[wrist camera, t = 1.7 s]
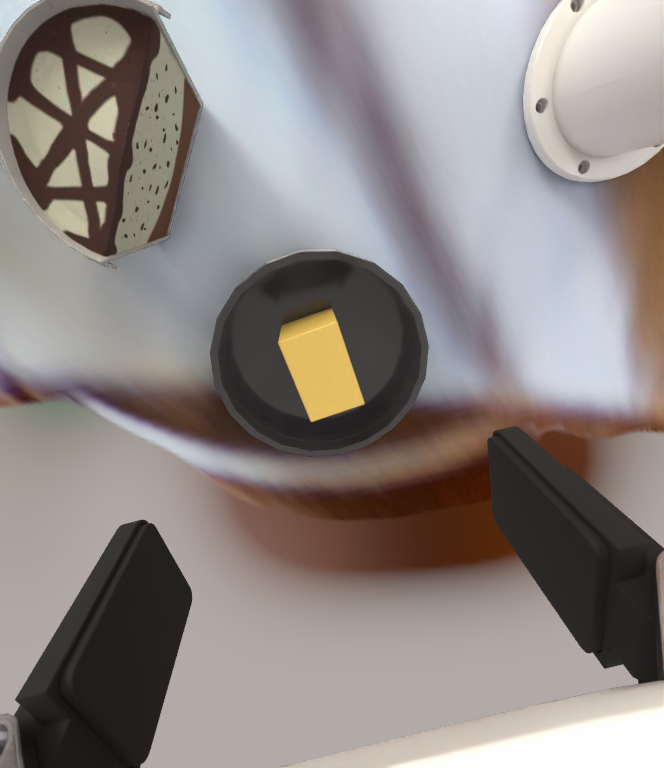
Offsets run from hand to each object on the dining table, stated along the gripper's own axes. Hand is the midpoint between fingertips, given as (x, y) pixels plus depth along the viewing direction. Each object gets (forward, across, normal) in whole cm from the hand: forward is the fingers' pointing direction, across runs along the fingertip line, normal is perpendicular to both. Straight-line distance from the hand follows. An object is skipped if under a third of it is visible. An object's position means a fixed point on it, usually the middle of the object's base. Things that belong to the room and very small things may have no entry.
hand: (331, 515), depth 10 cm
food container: (+23, +8, -14) cm, 29 cm away
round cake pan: (+23, 0, +3) cm, 23 cm away
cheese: (+23, 0, +3) cm, 23 cm away
